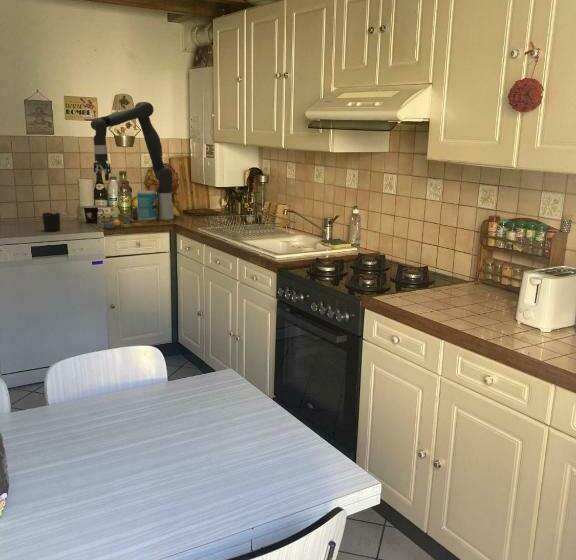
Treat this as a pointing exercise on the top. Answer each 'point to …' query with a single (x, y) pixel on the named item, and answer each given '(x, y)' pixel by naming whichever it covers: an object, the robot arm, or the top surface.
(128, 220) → the striker
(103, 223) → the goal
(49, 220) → the pen holder
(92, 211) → the coffee mug
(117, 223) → the ball
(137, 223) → the rail
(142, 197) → the food can
